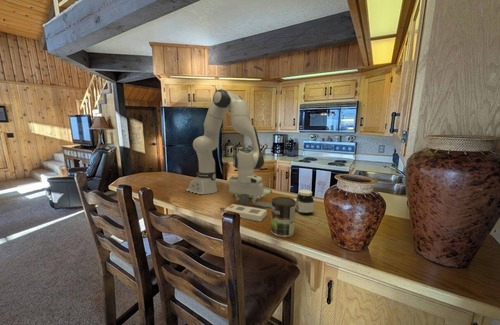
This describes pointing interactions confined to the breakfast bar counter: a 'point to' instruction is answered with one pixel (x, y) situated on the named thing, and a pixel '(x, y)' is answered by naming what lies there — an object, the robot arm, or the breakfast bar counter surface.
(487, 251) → the breakfast bar counter surface
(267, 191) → the dish towel
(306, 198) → the spread jar
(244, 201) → the charger plug
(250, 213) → the power strip
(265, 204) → the phone slab
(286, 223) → the coffee can
